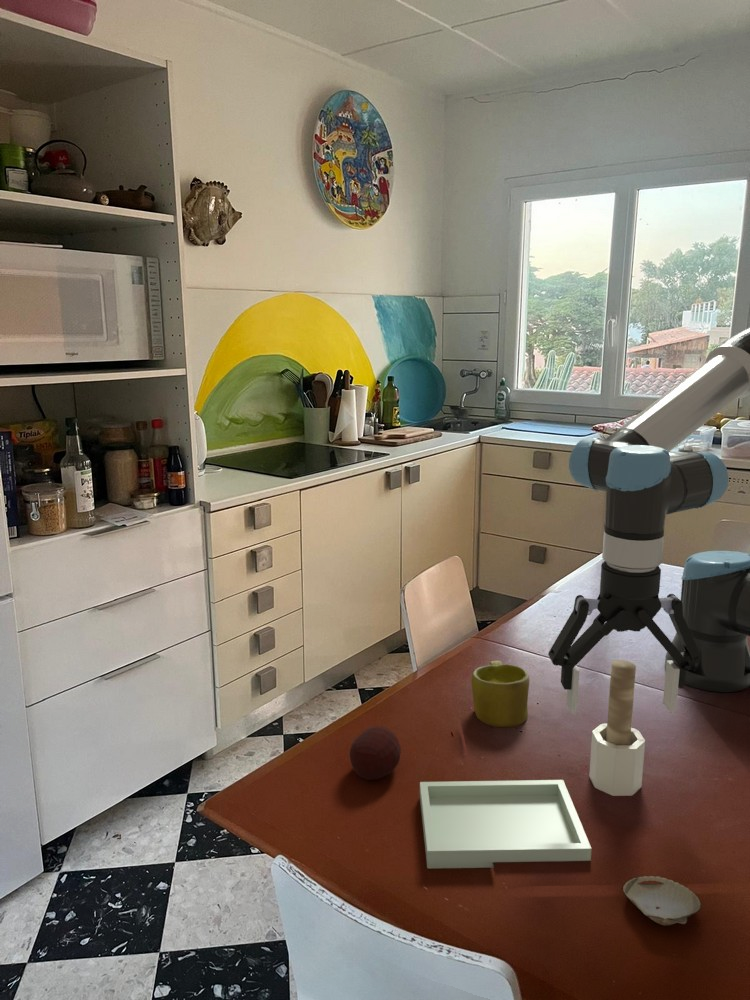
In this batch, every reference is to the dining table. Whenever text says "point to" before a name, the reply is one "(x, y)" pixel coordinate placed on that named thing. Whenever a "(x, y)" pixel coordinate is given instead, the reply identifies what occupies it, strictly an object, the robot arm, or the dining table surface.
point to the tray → (500, 823)
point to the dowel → (620, 702)
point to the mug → (500, 694)
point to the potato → (375, 753)
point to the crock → (616, 763)
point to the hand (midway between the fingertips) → (620, 708)
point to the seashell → (662, 899)
